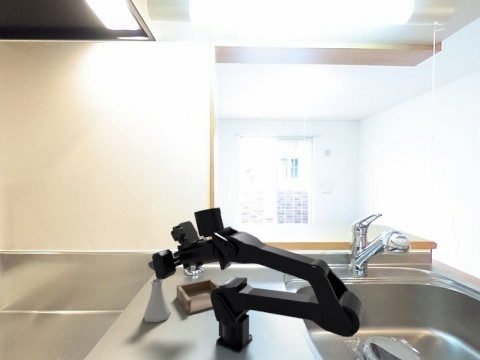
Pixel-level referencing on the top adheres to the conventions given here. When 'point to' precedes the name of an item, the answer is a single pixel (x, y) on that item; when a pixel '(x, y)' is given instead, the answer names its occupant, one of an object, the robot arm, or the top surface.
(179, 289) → the wooden tray
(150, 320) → the flask
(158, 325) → the top surface
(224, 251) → the robot arm
